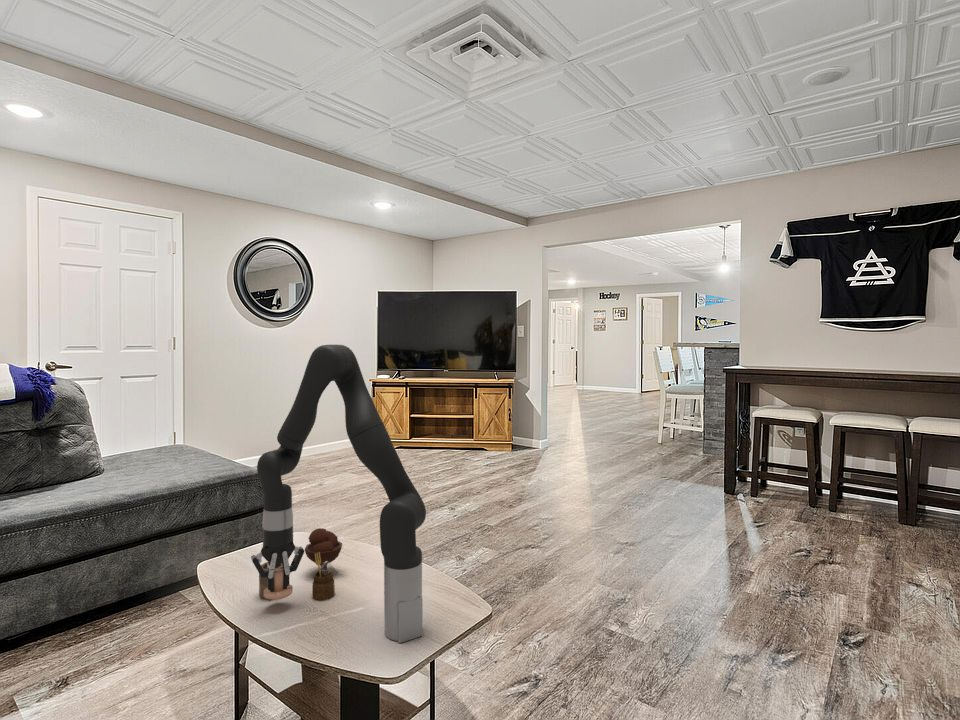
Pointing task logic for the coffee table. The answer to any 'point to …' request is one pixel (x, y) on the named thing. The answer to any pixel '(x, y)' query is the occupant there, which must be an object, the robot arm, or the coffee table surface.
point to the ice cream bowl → (323, 546)
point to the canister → (264, 580)
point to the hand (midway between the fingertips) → (278, 589)
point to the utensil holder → (323, 582)
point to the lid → (278, 587)
